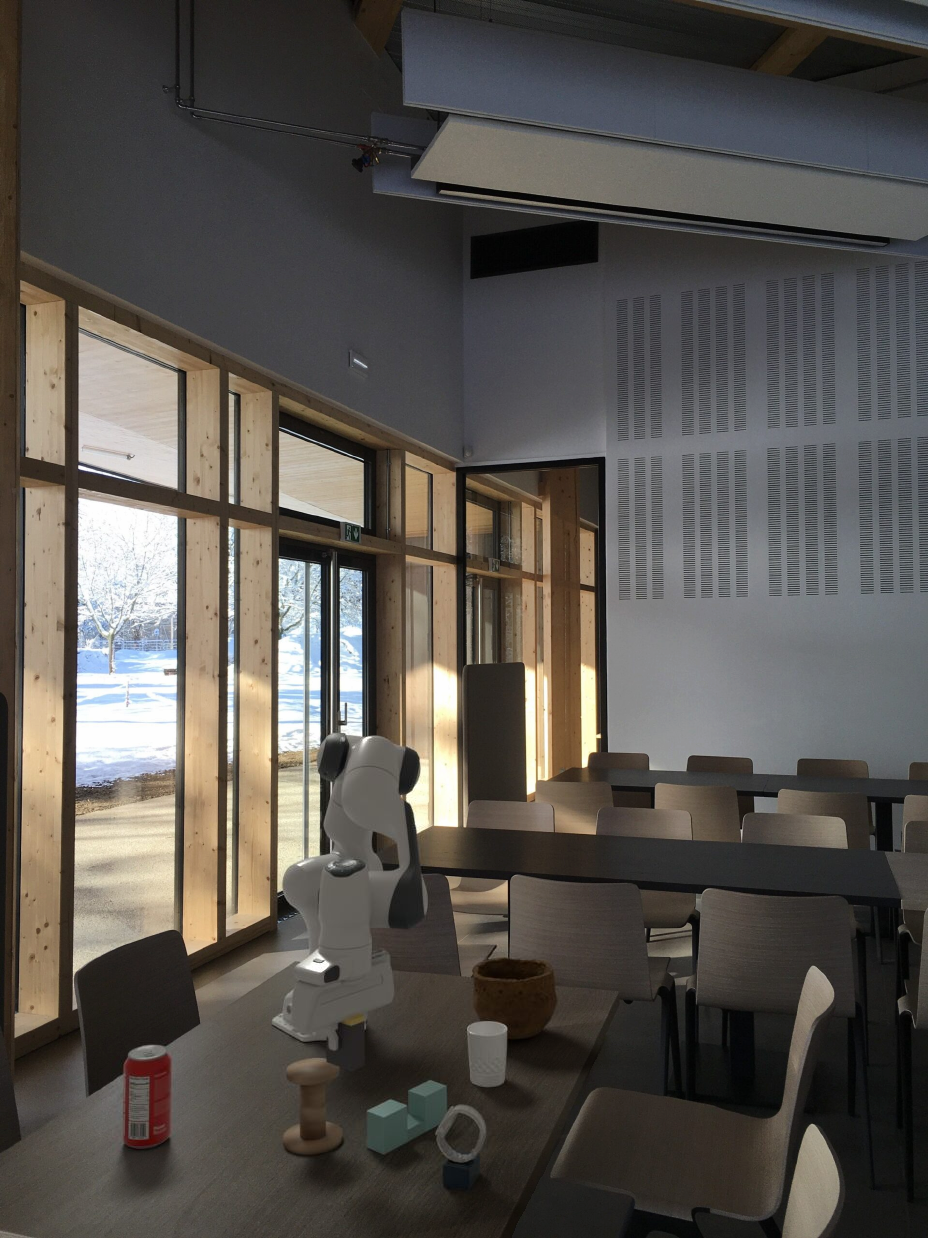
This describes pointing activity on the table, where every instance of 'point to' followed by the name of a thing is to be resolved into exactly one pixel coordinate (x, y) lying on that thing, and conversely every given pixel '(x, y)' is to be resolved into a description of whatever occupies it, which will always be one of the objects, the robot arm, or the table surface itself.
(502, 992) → the bowl
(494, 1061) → the white cup
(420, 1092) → the notch board
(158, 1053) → the soda can
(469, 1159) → the watch
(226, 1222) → the table surface
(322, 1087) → the bobbin
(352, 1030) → the yellow and black block
